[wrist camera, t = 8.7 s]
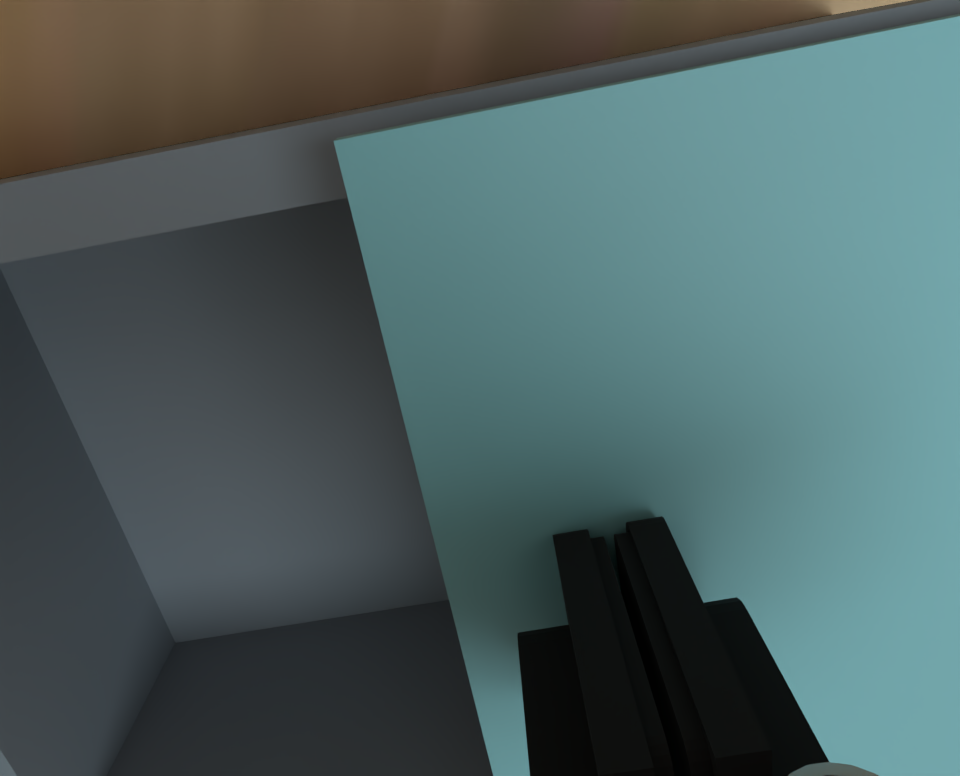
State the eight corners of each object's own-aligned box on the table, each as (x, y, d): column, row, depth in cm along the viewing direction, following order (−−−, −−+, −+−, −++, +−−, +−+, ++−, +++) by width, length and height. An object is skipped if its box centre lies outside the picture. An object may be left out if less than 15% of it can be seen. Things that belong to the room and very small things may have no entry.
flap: (336, 137, 8) (333, 140, 8) (1117, -18, 8) (1168, -26, 8) (519, 866, 14) (523, 898, 13) (990, 756, 14) (1014, 783, 13)
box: (-51, 189, 16) (-395, 261, 10) (834, 14, 15) (1112, -35, 8) (168, 648, 22) (42, 887, 15) (822, 545, 20) (984, 756, 14)
